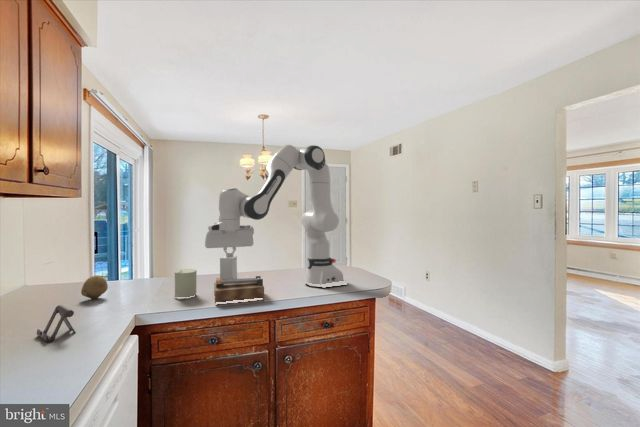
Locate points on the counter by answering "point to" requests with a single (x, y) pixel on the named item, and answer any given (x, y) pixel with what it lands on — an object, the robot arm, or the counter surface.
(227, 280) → the strap
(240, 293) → the latch base
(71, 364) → the counter surface
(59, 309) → the portable electronic device stand
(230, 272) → the skincare box
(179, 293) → the can
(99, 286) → the natural sponge
